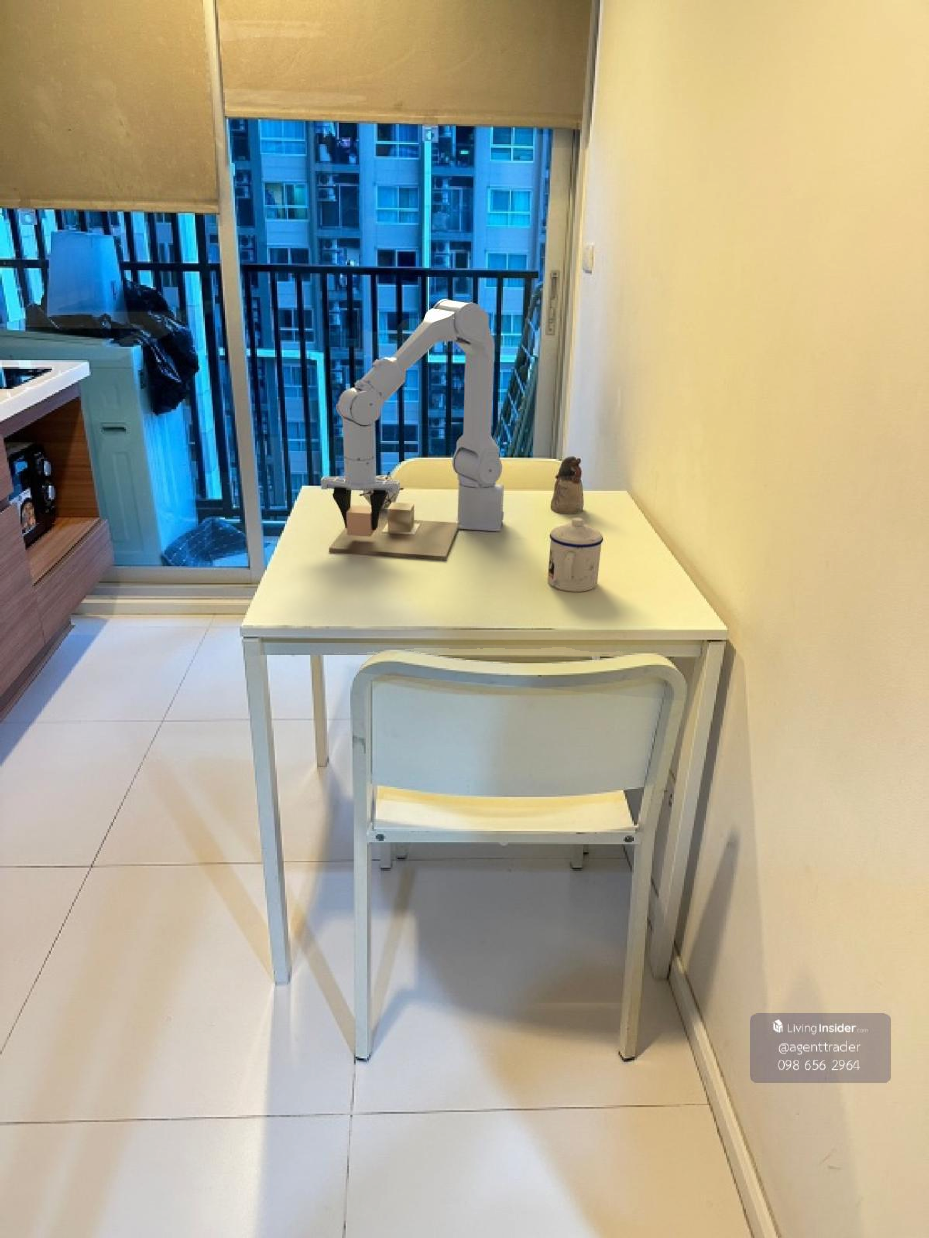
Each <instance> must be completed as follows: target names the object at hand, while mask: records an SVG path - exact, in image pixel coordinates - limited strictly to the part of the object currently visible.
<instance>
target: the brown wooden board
mask: <svg viewBox="0 0 929 1238" xmlns="http://www.w3.org/2000/svg"><path fill="white" fill-rule="evenodd" d="M458 527H459V523H455V522H451V521H437V520H422V519H421V520H420V519H414V526H413V528H412V530H411V531H410V532H400V531H388V517H379V520H378V527H377V528H376V530H375V531H374V532H373V534H372V535H371V537H368V536H353V535H347V528H345V527H344V528H343V530H342V531H341V532H340V534H338V536H337V537H336V539H335V540H334V541H333V542H332V544H330V546H329V548H328V552H329V553H338V554H349V555H350V554H353V555H365V556H367V555H369V556H381V557H392V558H406V559H418V560H419V559H421V560H424V559H425V560H433V561H434V560H435V561H447V558H448V556H449V553H450V550H451V548H452V545H453V543H454V541H455V537H456V536H457V533H458V530H459V529H458Z"/></svg>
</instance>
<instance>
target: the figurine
mask: <svg viewBox="0 0 929 1238" xmlns="http://www.w3.org/2000/svg"><path fill="white" fill-rule="evenodd" d="M581 463H582V460H581V458H579V457H575V456H574V455H569V456H566V458H564V459H563V460H562V461H561V463H560V465H559V468H558V473H557V474H556V475H555V479H556V481H555V484H554V488H553V493H552V498H551V500H550V505H549V506H550V510H551V511H553V512H554V513H559V514H562V515H564V514H565V515H575V514H576V513H577V514H580V513H582V512H583V509H584V501H585V500H584V489H583V487H584V486H583V482H582V479H581V478H582V472H583V471H582V468H581V467H580V464H581ZM581 511H582V512H581Z"/></svg>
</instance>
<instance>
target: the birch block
mask: <svg viewBox="0 0 929 1238" xmlns="http://www.w3.org/2000/svg"><path fill="white" fill-rule="evenodd" d="M387 518H388V531H400V532H410V531H411V530H412V528H413V526H414V520H415V503H410V502H396V501H395V502H392V503H391V504H390V506H389V507H388V508H387Z"/></svg>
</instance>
